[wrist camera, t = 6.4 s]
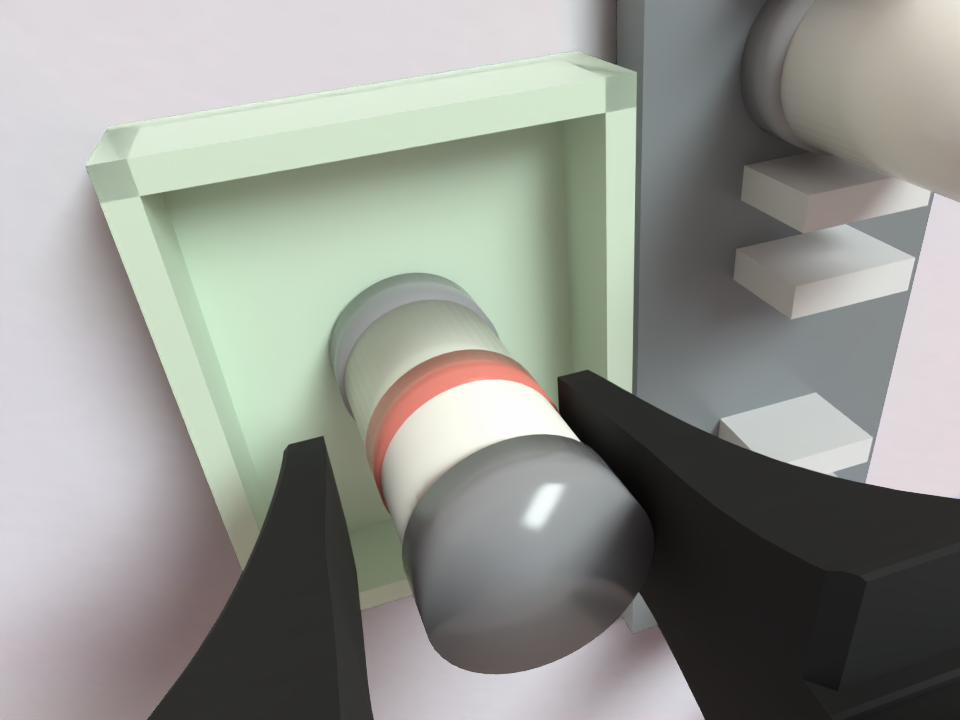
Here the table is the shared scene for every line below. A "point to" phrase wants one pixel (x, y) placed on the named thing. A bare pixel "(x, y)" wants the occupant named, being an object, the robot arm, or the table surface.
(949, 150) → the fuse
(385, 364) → the marked fuse
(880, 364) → the clip board
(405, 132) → the tray
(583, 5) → the table surface
